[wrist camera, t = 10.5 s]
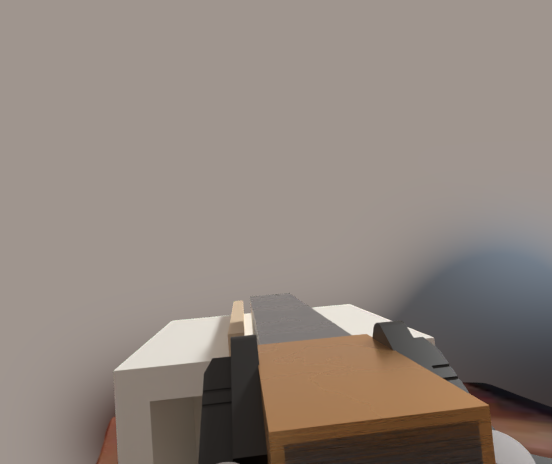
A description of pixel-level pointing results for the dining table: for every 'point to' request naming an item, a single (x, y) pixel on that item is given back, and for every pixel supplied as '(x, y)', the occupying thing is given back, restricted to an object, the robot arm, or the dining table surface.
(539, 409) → the dining table surface
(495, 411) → the dining table surface
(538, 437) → the dining table surface
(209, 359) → the tall white box
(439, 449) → the brown grained square bar
